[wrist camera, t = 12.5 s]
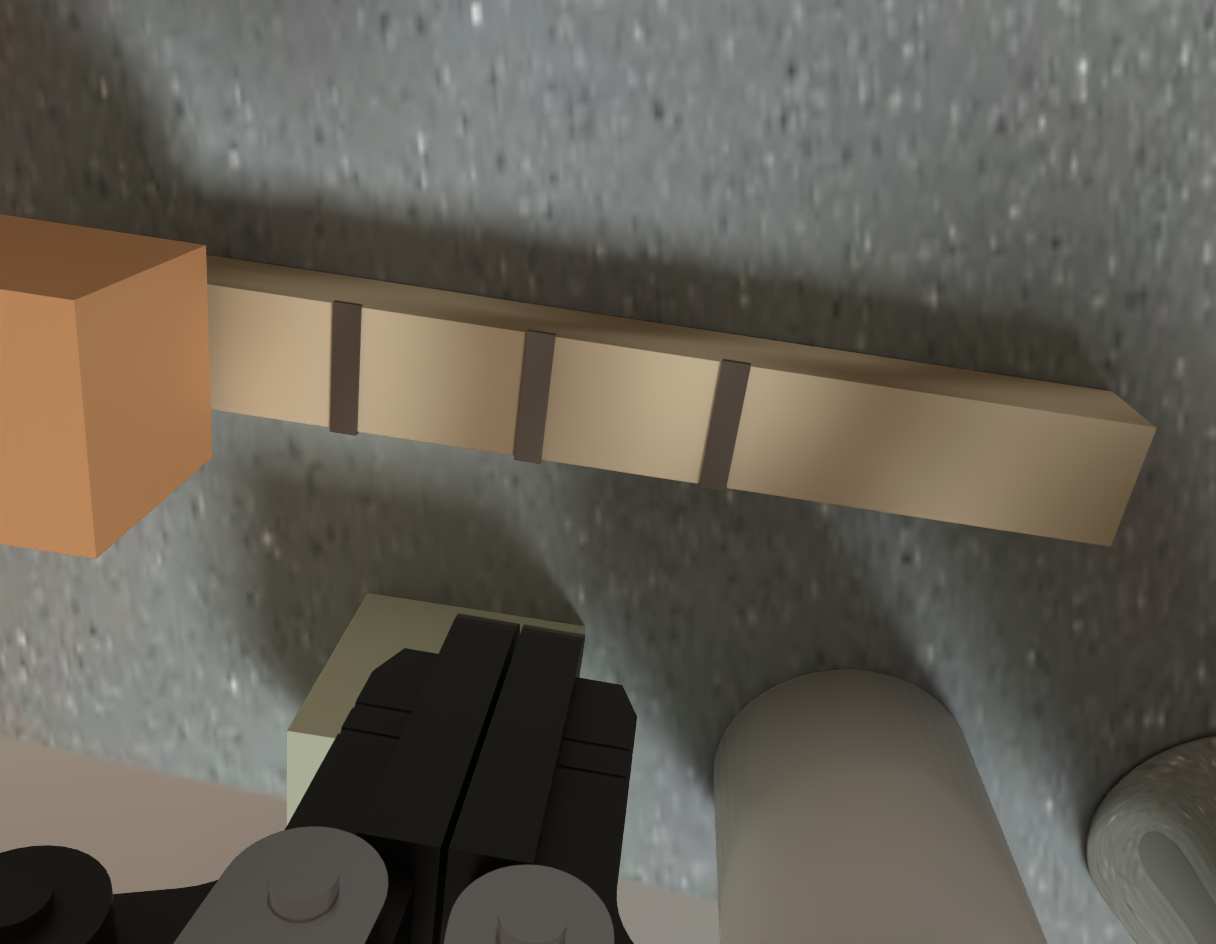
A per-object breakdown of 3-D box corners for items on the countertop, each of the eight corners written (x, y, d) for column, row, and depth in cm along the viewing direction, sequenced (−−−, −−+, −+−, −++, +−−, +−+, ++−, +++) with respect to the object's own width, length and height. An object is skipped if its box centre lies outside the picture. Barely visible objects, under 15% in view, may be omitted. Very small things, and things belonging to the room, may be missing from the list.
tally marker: (205, 245, 17) (73, 299, 13) (212, 457, 19) (96, 558, 15) (-23, 210, 17) (-217, 256, 13) (3, 425, 19) (-163, 518, 15)
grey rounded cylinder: (1003, 691, 22) (1189, 1072, 14) (932, 888, 25) (1055, 1311, 16) (738, 650, 22) (769, 1005, 14) (694, 850, 25) (697, 1252, 16)
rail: (1113, 388, 19) (1159, 427, 17) (1071, 503, 20) (1111, 551, 18) (6, 222, 20) (-68, 241, 18) (19, 343, 21) (-49, 373, 19)
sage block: (585, 624, 22) (559, 773, 18) (560, 795, 24) (531, 968, 20) (368, 591, 23) (286, 730, 18) (361, 763, 25) (286, 929, 20)
